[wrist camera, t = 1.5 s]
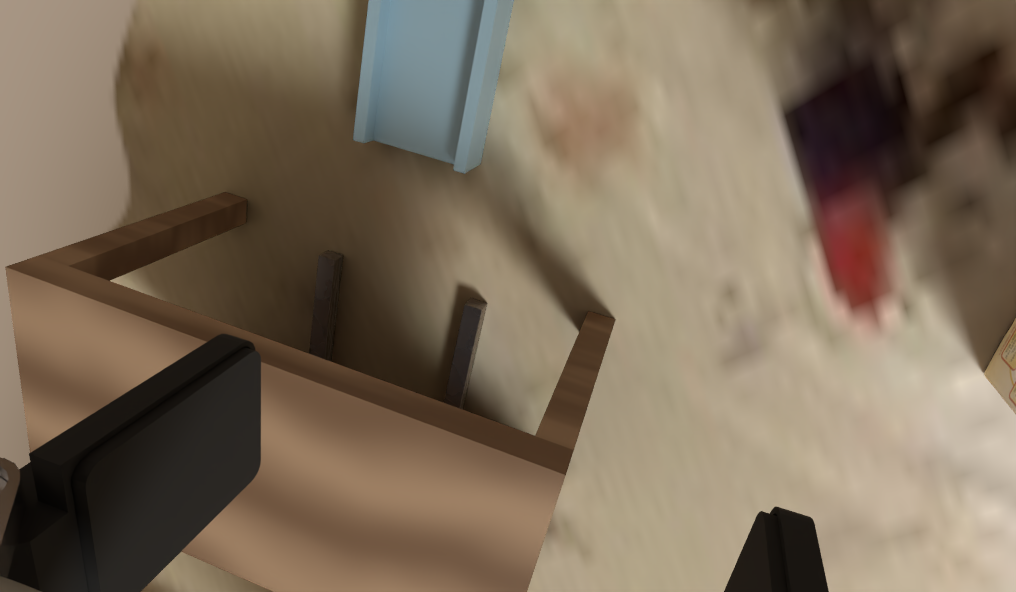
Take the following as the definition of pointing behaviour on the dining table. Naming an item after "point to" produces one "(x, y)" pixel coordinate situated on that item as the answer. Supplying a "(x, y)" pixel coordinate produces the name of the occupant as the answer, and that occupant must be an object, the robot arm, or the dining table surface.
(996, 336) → the dining table surface
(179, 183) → the dining table surface
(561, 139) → the dining table surface
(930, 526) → the dining table surface
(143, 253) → the shelf
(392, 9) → the light blue channel block
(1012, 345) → the coffeecake box
